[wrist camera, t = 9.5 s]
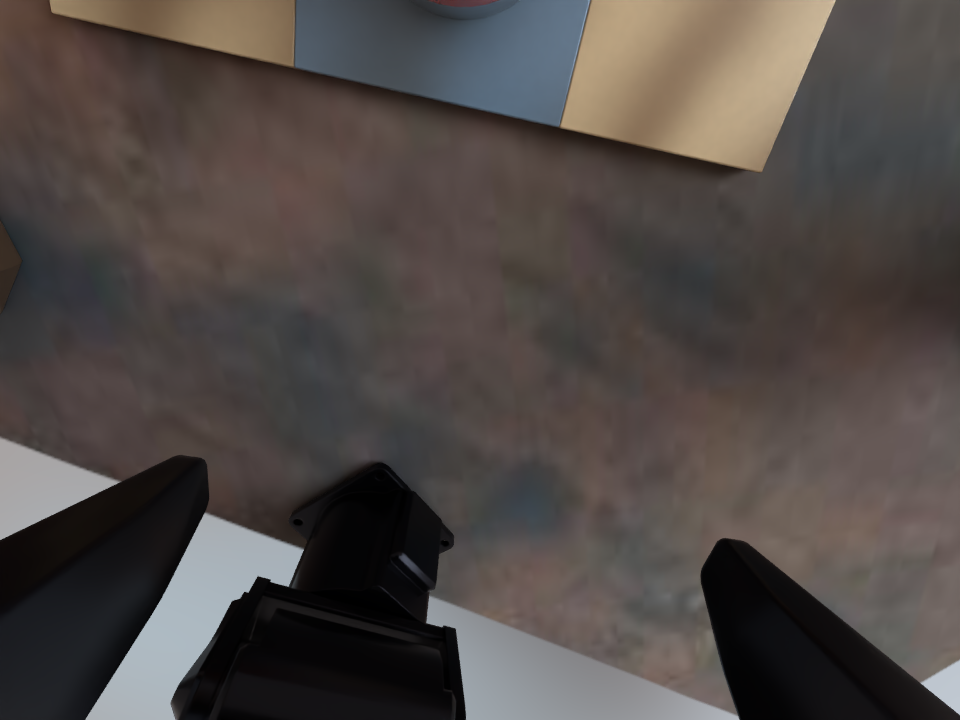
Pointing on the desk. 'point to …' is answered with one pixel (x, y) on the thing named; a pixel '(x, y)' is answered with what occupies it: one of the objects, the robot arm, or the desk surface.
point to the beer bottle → (7, 265)
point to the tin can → (465, 7)
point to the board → (533, 59)
